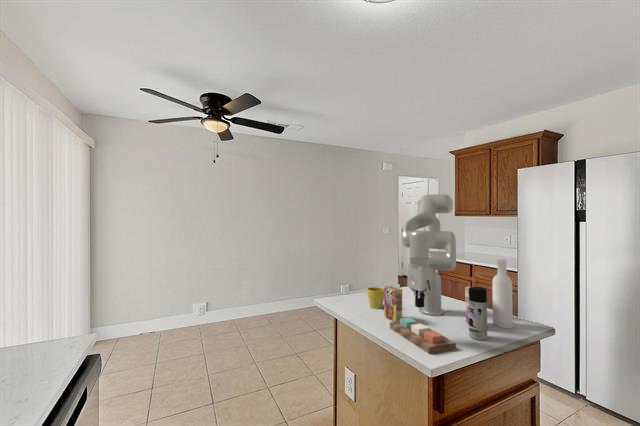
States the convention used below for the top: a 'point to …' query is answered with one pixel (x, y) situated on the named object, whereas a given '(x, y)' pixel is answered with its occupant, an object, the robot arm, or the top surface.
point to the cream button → (419, 329)
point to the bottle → (502, 297)
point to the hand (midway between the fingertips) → (419, 306)
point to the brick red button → (433, 337)
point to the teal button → (407, 322)
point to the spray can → (478, 313)
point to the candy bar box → (467, 303)
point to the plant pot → (375, 296)
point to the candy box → (393, 303)
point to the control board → (421, 341)
